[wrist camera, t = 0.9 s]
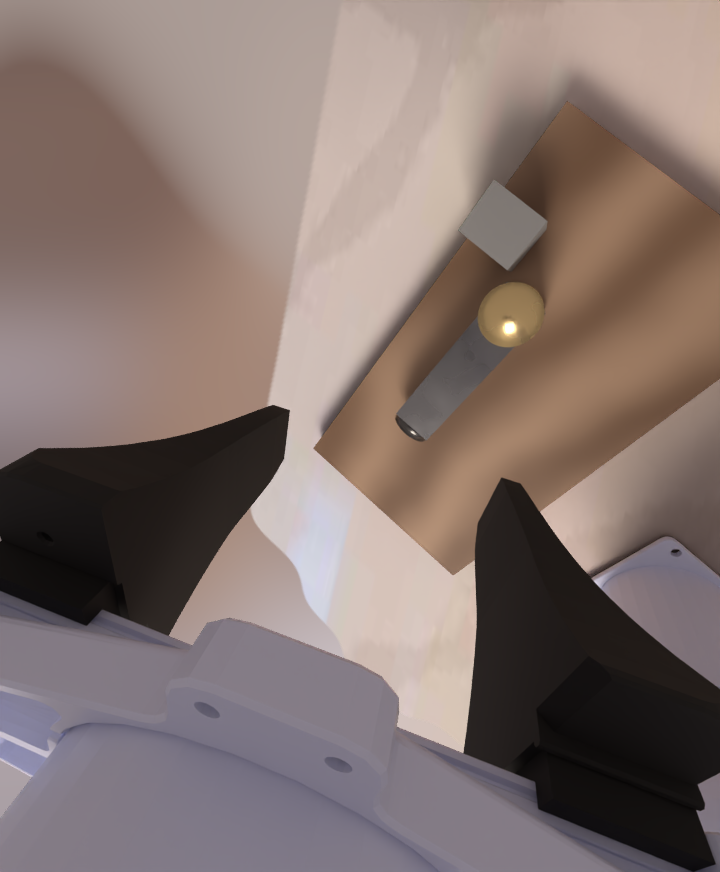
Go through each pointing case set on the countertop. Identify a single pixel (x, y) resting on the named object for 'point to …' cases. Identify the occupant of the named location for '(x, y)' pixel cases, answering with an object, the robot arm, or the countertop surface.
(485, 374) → the gold-capped grey rod
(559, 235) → the wooden board
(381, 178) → the countertop surface
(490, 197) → the block
